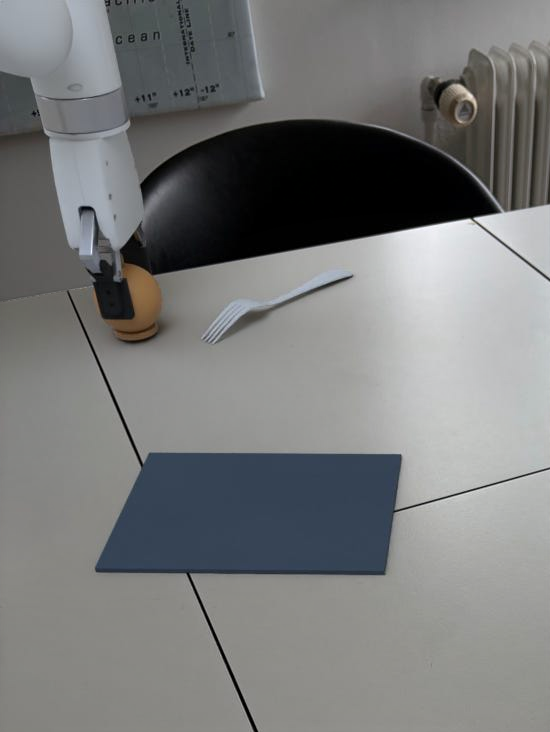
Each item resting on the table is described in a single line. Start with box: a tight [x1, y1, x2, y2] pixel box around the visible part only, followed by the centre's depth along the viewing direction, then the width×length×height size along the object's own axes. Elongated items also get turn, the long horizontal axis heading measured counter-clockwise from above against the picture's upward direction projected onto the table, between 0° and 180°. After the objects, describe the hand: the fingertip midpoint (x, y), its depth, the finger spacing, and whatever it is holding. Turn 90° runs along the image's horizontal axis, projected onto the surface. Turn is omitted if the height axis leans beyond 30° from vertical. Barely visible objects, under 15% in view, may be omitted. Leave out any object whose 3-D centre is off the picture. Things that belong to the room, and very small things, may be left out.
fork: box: [200, 268, 354, 345], centre depth 112 cm, size 3×21×3 cm, turn 142°
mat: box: [94, 451, 403, 576], centre depth 84 cm, size 22×16×1 cm
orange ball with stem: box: [92, 253, 163, 341], centre depth 104 cm, size 7×7×8 cm
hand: (128, 300), depth 105 cm, fingers closed on orange ball with stem, 6 cm apart
